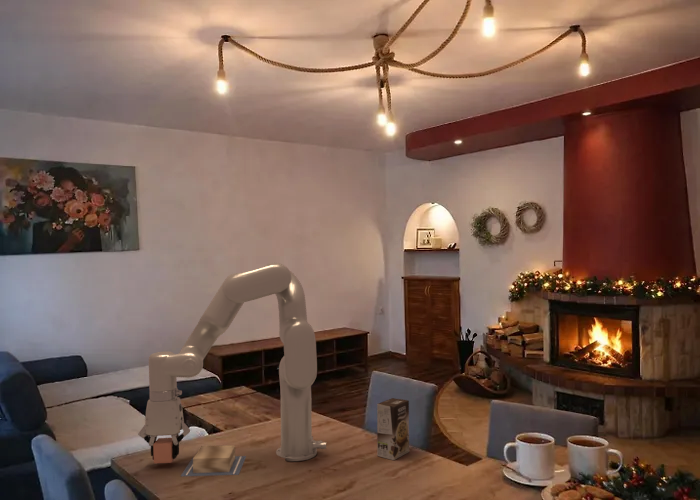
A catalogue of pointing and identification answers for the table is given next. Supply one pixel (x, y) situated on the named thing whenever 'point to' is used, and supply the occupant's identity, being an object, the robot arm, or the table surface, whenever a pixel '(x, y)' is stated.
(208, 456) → the maple base block
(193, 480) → the table surface
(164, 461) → the terracotta block
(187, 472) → the board
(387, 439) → the snack box
